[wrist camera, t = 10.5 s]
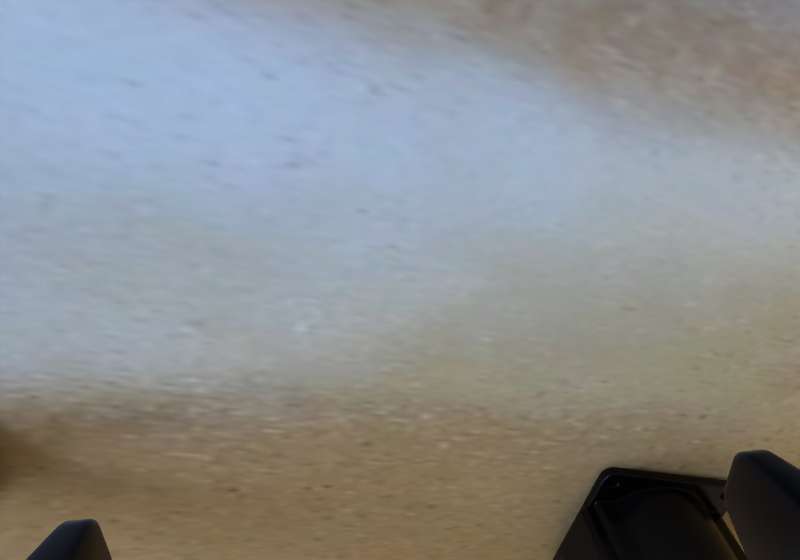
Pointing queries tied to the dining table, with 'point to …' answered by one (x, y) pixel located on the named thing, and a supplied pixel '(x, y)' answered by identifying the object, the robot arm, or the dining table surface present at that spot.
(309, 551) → the dining table surface
